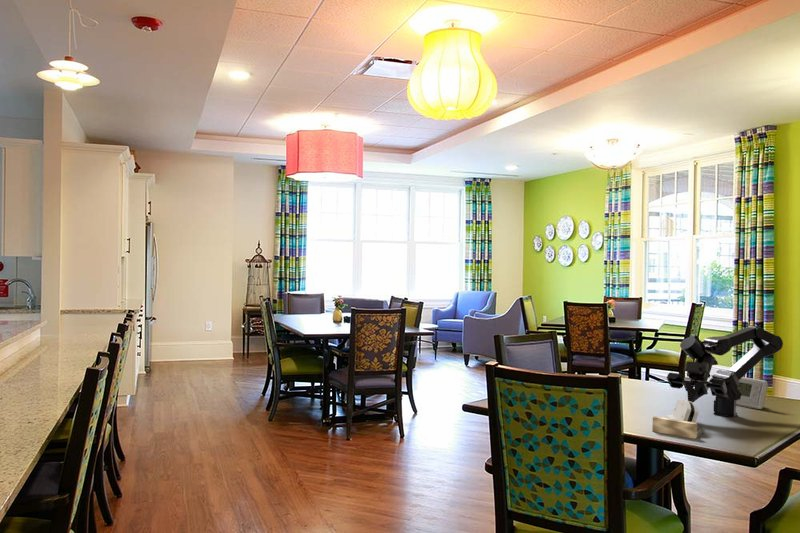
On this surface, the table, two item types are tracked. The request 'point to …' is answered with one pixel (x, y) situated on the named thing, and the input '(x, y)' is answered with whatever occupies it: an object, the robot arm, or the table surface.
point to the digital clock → (752, 392)
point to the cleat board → (676, 427)
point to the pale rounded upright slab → (684, 411)
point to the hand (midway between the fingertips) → (689, 403)
